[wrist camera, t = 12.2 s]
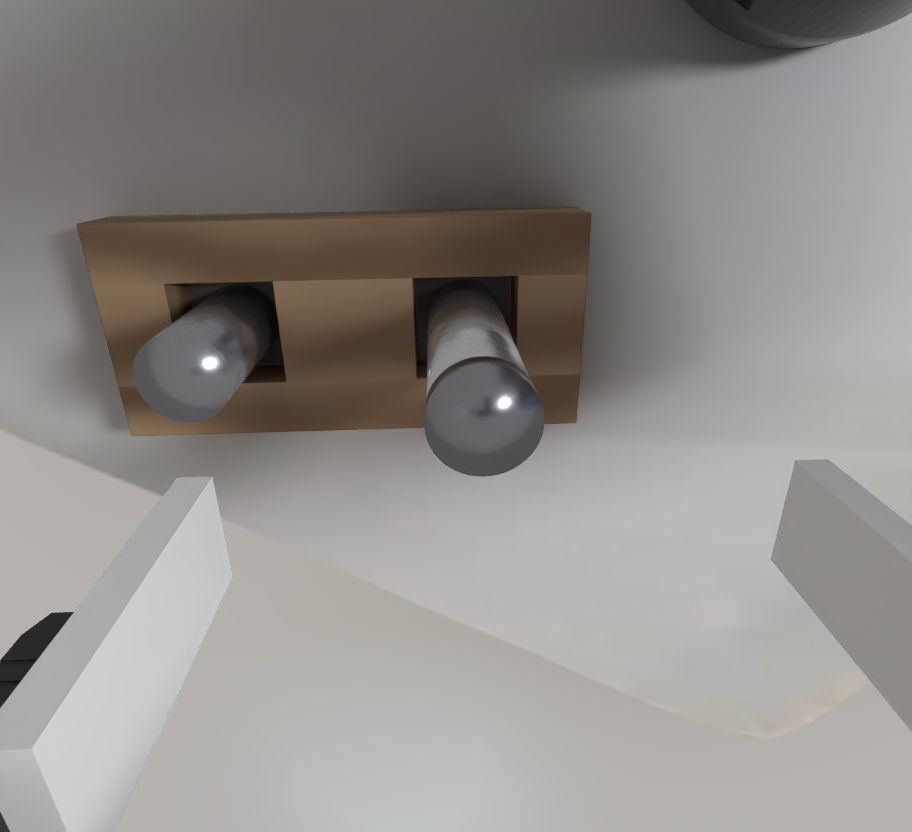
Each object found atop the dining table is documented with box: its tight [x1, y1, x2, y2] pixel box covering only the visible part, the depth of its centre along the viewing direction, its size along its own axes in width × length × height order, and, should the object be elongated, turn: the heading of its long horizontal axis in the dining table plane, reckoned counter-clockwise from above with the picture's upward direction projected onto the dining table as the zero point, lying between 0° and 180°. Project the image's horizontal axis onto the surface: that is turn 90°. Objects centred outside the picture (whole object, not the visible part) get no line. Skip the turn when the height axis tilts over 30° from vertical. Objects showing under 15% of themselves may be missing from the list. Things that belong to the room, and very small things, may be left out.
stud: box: [424, 280, 544, 476], centre depth 25 cm, size 4×4×13 cm
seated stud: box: [133, 285, 279, 422], centre depth 27 cm, size 4×4×8 cm
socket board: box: [77, 207, 591, 436], centre depth 29 cm, size 10×22×3 cm, turn 91°
